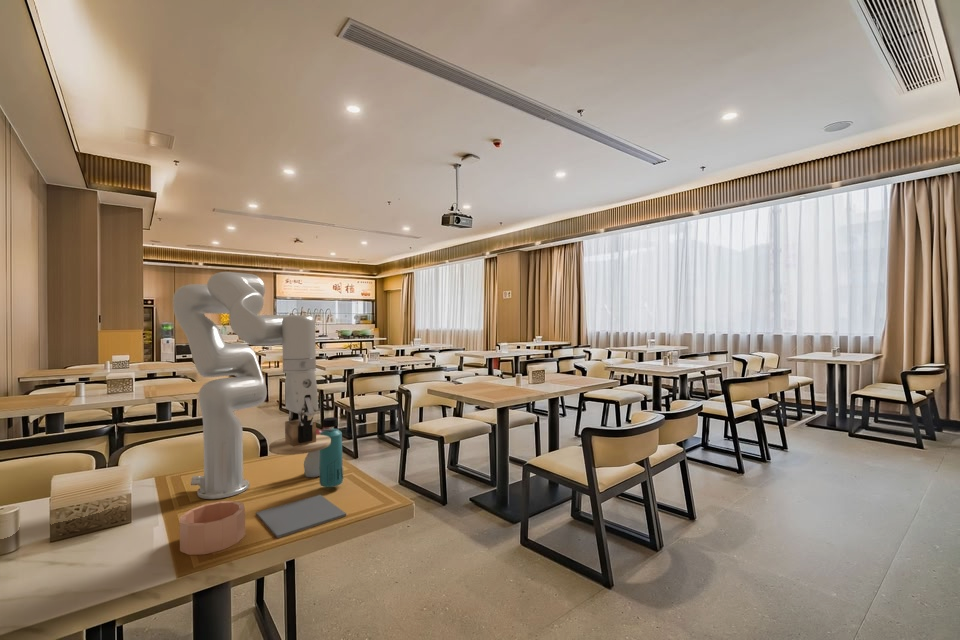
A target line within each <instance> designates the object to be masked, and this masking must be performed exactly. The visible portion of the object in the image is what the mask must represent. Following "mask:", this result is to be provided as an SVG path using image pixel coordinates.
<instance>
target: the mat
mask: <svg viewBox="0 0 960 640" xmlns="http://www.w3.org/2000/svg"><path fill="white" fill-rule="evenodd" d="M256 516H257V517H258V518H259V520H260V521H261V522H262V523H263V524H264V525H265V526H266V527H267V529H268V530H270V532H271V533H272V534H273V535H274V536H275V538H277V539H280V538H283V537H285V536H289V535H292V534H295V533H298V532H301V531H304V530H307V529H310V528H311V529H312V528H313V527H316V526H317V527H318V526H320V525H323V524H326V523H329V522H332V521H335V520H338V519H342V518H345V517H347V513H346V512H344V510H342V509H341V508H340V507H338V506H337V505H336V504H334V503H333V502H331V501H330V500H329V499H327V498H326V497H325V496H323V495H321V494H317V495H313V496H310V497H305V498H303V499H302V498H301V499H298V500H296V501H291V502H288V503H284V504H281V505H278V506H274V507H270V508H267V509H263V510H260V511H256Z"/></svg>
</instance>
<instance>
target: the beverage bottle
mask: <svg viewBox="0 0 960 640" xmlns="http://www.w3.org/2000/svg"><path fill="white" fill-rule="evenodd" d="M337 426H339V421H338V418H337V417H326V418H323V420H322V428H323V427H330V429H326V430H323V431H322V432H321V433H320V434H319V435H325V436H328V437H330V438H331V444H330V445H329V446H328V447H326V448H324V449H321V450H319V454H320V457H319V463H320V464H319V466H320V468H319V469H320V475H319V477H318V478H319V484H320V486H321V487H323V488H333V487H334V488H335V487H337V486H340V485H342V484H343V480H344V465H343V461H344V460H343V458H344V457H343V432H342V431H341V430H340V429H338V428H334V427H337Z"/></svg>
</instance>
